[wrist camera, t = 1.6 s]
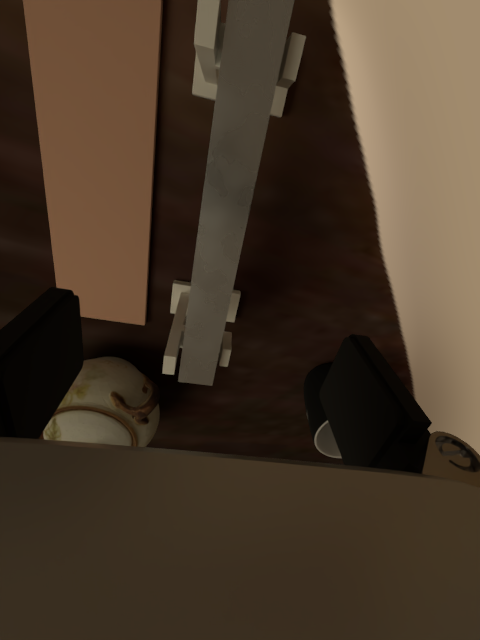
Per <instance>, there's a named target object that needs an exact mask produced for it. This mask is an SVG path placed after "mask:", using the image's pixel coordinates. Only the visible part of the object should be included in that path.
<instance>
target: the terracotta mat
mask: <svg viewBox="0 0 480 640" xmlns="http://www.w3.org/2000/svg"><path fill="white" fill-rule="evenodd" d="M23 4H24V12H25V21H26V29H27V38H28V46H29V55H30V63H31V72H32V81H33V89H34V98H35V106H36V115H37V123H38V132H39V140H40V149H41V157H42V166H43V174H44V183H45V191H46V200H47V208H48V217H49V225H50V234H51V242H52V251H53V260H54V268H55V277H56V285H57V288H62V289H68V290H72V291H73V293H74V295H77V296H78V297H79V301H80V315H81V317H88V318H96V319H103V320H110V321H117V322H124V323H131V324H138V325H145V323H146V312H147V294H148V275H149V256H150V238H151V219H152V200H153V181H154V163H155V144H156V125H157V106H158V88H159V69H160V50H161V31H162V13H163V0H23Z"/></svg>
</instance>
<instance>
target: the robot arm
mask: <svg viewBox="0 0 480 640" xmlns="http://www.w3.org/2000/svg"><path fill="white" fill-rule="evenodd" d="M83 362H84V357H83V343H82V329H81V315H80V301H79V297H78V296H77V295H74V293H73V291H72V290H68V289H62V288H56V287H51V288H49V289H48V290H47V291H46V292H45V293H43V294H42V295H41V296H40V297H39V298H37V299H36V300H35V301H34V302H33V303H32V304H30V305H29V306H28V307H27V308H26V309H24V310H23V311H22V312H21V313H20V314H19V315H17V316H16V317H15V318H14V319H13V320H11V321H10V322H9V323H8V324H7V325H6V326H4V327H3V328H2V329H1V330H0V640H480V455H479V454H478V453H477V452H476V451H475V450H474V449H473V448H472V447H471V446H469V445H468V444H467V443H465V442H464V441H462V440H461V439H459V438H458V437H456V436H454V435H451V434H449V433H445V432H438V431H437V432H434V433H432V434H430V432H429V431H428V430H427V429H428V427H429V426H430V425H431V423H432V422H431V421H430V420H429V418H428V417H427V416H426V415H425V413H424V412H423V410H422V409H421V408H420V406H419V405H418V403H417V402H416V401H415V399H414V398H413V397H412V395H411V394H410V393H409V391H408V390H407V389H406V387H405V386H404V385H403V383H402V382H401V380H400V379H399V378H398V376H397V375H396V374H395V372H394V371H393V370H392V368H391V367H390V366H389V364H388V363H387V361H386V360H385V359H384V357H383V356H382V355H381V353H380V352H379V351H378V349H377V348H376V347H375V345H374V344H373V343H372V341H371V340H370V338H368V337H367V336H361V335H354V334H352V335H350V336H349V337H346V338H345V339H344V340H343V342H342V344H341V346H340V349H339V351H338V353H337V355H336V357H335V359H334V361H333V364H332V366H331V368H330V370H329V372H328V374H327V377H326V379H325V381H324V383H323V385H322V387H321V390H320V401H321V403H322V406H323V409H324V411H325V414H326V417H327V419H328V422H329V425H330V427H331V430H332V433H333V435H334V438H335V441H336V443H337V446H338V449H339V451H340V454H341V457H342V460H343V462H344V465H339V464H328V463H318V462H307V461H296V460H286V459H275V458H264V457H252V456H241V455H230V454H218V453H207V452H195V451H184V450H172V449H160V448H148V447H136V446H124V445H111V444H99V443H87V442H74V441H59V440H44V439H39V437H40V436H41V434H42V432H43V431H44V429H45V428H46V426H47V424H48V423H49V421H50V420H51V418H52V416H53V415H54V413H55V412H56V410H57V408H58V407H59V405H60V403H61V402H62V400H63V399H64V397H65V395H66V394H67V392H68V391H69V389H70V387H71V386H72V384H73V383H74V381H75V379H76V378H77V376H78V374H79V373H80V371H81V369H82V367H83Z"/></svg>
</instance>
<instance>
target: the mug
mask: <svg viewBox="0 0 480 640" xmlns="http://www.w3.org/2000/svg"><path fill="white" fill-rule="evenodd" d="M331 366H332V363H329V364H323V365H320V366H317V367H316V368H314V369H313V370H312V371H310V373H309V374H308V375H307V377H306V379H305V383H304V399H305V407H306V412H307V418H308V422H309V427H310V431H311V434H312V438H313V441H314V444H315V446H316V448H317V449H318V450H319V451H320V452H321V453H323V454H325V455H327V456H330V457H334V458H342V457H341V454H340V451H339V449H338V446H337V443H336V441H335V438H334V435H333V433H332V430H331V427H330V425H329V422H328V419H327V417H326V414H325V411H324V409H323V406H322V403H321V401H320V390H321V387H322V385H323V383H324V381H325V379H326V377H327V374H328V372H329V370H330V368H331Z"/></svg>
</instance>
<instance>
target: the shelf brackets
mask: <svg viewBox="0 0 480 640" xmlns="http://www.w3.org/2000/svg"><path fill="white" fill-rule="evenodd" d="M225 25H226V24H224V23H221V8H220V0H198V6H197V16H196V27H195V37H194V46H195V49H196V60H195V70H194V80H193V90H192V94H193V95H195V96H198V97H202V98H206V99H210V100H214V101H215V100H216V93H217V85H218V78H219V70H220V63H221V55H222V48H223V40H224V33H225ZM305 39H306V36H304V35H301V34H297V33H294V32H292V33H291V35H290V36H289V38H288V39H287V41H286V42H285V47H284V51H283V56H282V61H281V65H280V70H279V75H278V80H277V84H276V89H275V94H274V98H273V103H272V108H271V112H270V115H272V116H276V117H282V112H283V108H284V104H285V99H286V95H287V91H288V88H289V87H290V86H291V84H292V83H294V82H295V81H296V77H297V72H298V68H299V64H300V60H301V56H302V51H303V47H304V43H305ZM190 288H191V283H190V282H184V281H178V280H174V282H173V290H172V300H171V310H170V313H174V314H175V316H174V320H173V324H172V328H171V331H170V335H169V339H168V342H167V346H166V350H165V354H164V361H163V371H162V374H170V375H174V372H175V367H176V362H177V357H178V352H179V348H183V340H184V333H185V326H184V323H185V318H186V315H187V310H188V303H189V295H190ZM240 295H241V294H240V291H238V290H233V291H232V295H231V300H230V305H229V309H228V314H227V319H226V321H228V322H234V321H235V317H236V312H237V308H238V304H239V299H240ZM231 340H232V332H225V331H224V333H223V337H222V342H221V347H220V352H219V366H225V367H228V362H229V358H230V354H231Z"/></svg>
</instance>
